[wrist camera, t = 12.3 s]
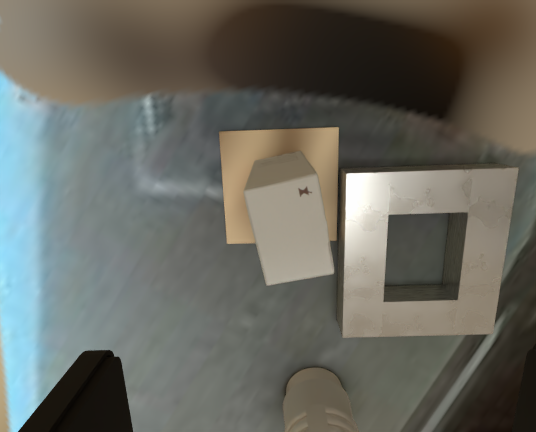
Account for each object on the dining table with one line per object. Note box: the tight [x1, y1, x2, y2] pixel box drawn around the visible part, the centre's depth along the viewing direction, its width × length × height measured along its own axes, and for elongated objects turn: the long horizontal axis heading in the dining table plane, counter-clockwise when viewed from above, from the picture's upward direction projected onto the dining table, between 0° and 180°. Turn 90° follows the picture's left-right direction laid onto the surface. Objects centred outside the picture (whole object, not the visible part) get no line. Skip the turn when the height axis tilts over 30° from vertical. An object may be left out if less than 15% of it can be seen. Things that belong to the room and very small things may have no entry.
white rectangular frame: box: [337, 163, 519, 338], centre depth 31 cm, size 14×15×3 cm
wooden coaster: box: [219, 127, 339, 244], centre depth 31 cm, size 10×10×1 cm
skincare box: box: [243, 151, 334, 286], centre depth 25 cm, size 6×4×12 cm
